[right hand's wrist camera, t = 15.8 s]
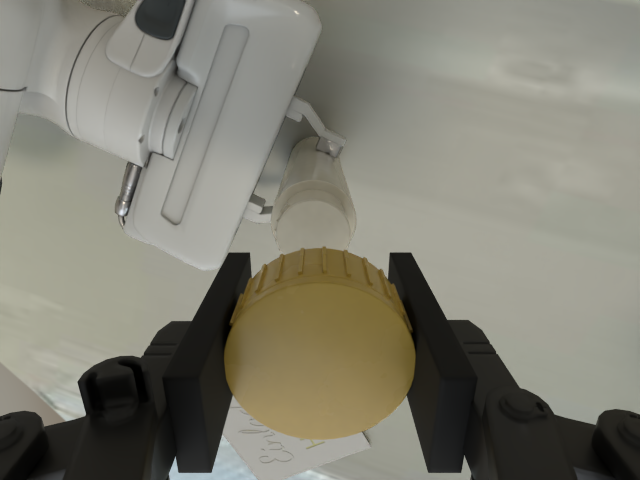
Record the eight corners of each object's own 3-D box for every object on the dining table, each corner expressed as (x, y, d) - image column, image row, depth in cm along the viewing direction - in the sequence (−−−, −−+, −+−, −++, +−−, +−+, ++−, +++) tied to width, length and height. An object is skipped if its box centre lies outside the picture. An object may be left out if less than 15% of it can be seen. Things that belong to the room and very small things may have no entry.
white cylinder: (282, 146, 36) (251, 207, 19) (329, 129, 36) (344, 176, 18) (299, 192, 38) (286, 288, 20) (345, 177, 37) (371, 262, 20)
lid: (308, 412, 14) (306, 469, 12) (201, 310, 12) (177, 355, 10) (435, 332, 13) (457, 380, 11) (333, 209, 11) (337, 237, 9)
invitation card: (371, 447, 49) (263, 487, 51) (370, 445, 49) (263, 485, 52) (289, 313, 42) (168, 365, 44) (289, 311, 42) (169, 364, 45)
